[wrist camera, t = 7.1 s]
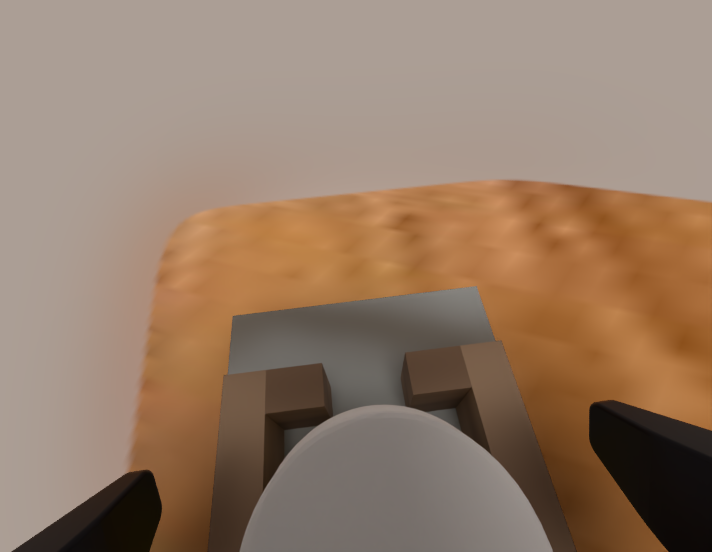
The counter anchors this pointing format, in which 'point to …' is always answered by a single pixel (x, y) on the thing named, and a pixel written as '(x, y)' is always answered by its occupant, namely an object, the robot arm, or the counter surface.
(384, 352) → the pocket
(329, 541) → the supplement bottle
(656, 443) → the robot arm
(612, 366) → the counter surface
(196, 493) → the counter surface
